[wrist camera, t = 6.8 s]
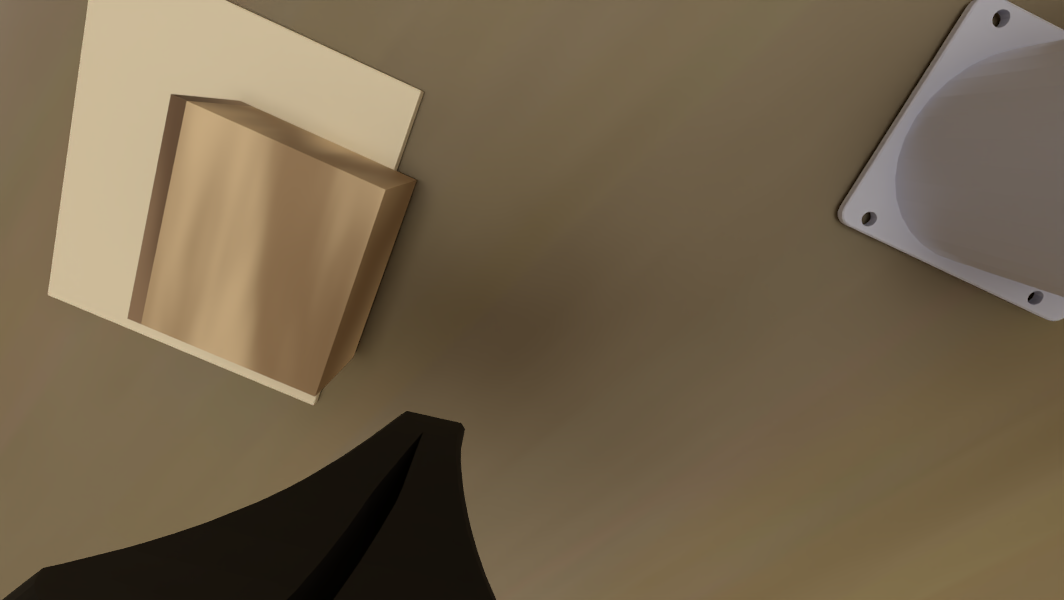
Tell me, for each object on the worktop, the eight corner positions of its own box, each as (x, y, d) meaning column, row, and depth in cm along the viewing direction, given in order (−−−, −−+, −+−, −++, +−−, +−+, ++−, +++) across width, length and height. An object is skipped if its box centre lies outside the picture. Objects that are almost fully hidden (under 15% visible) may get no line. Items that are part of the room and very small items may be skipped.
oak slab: (385, 189, 16) (170, 93, 16) (314, 396, 19) (127, 318, 18) (416, 180, 20) (240, 100, 19) (353, 357, 22) (195, 290, 22)
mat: (424, 91, 19) (421, 91, 19) (317, 400, 23) (313, 405, 23) (106, -56, 18) (96, -60, 18) (56, 292, 23) (47, 294, 22)
